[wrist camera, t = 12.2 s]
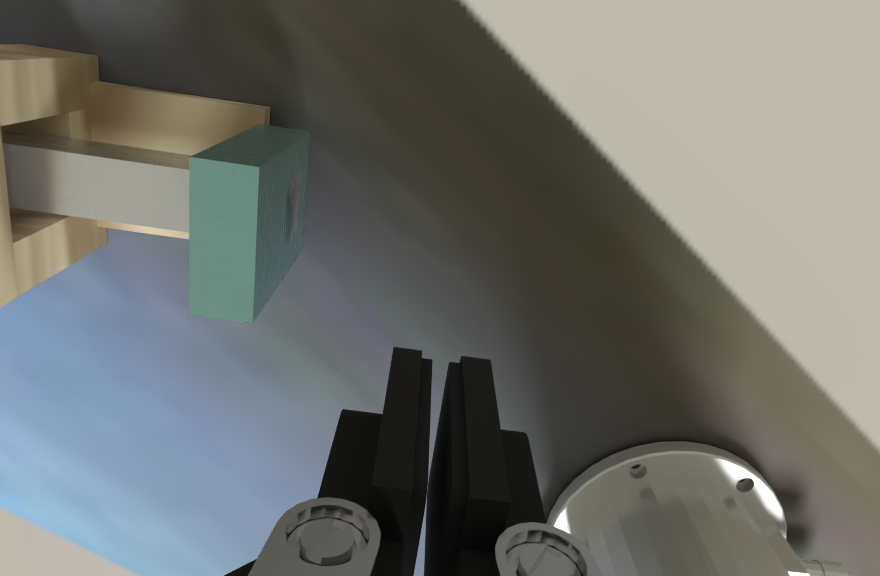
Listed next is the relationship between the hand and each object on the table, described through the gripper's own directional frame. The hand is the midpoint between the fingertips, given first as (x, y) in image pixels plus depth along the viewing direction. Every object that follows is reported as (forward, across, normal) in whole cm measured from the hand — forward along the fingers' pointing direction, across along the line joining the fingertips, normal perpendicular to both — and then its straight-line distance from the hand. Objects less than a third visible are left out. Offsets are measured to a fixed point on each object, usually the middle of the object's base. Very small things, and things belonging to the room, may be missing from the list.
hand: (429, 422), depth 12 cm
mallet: (+16, +13, 0) cm, 20 cm away
